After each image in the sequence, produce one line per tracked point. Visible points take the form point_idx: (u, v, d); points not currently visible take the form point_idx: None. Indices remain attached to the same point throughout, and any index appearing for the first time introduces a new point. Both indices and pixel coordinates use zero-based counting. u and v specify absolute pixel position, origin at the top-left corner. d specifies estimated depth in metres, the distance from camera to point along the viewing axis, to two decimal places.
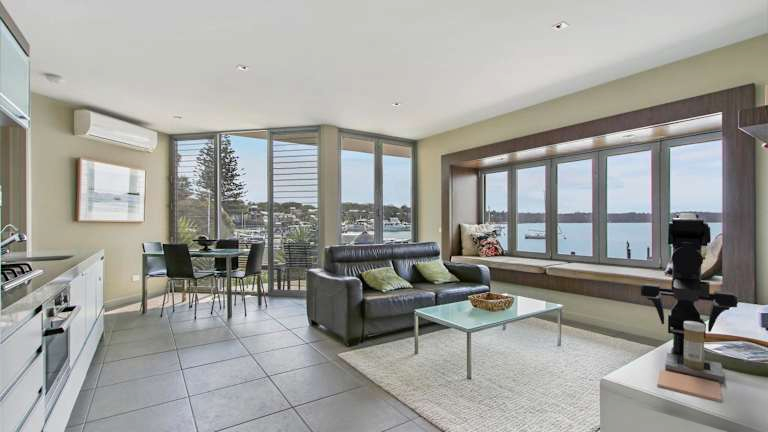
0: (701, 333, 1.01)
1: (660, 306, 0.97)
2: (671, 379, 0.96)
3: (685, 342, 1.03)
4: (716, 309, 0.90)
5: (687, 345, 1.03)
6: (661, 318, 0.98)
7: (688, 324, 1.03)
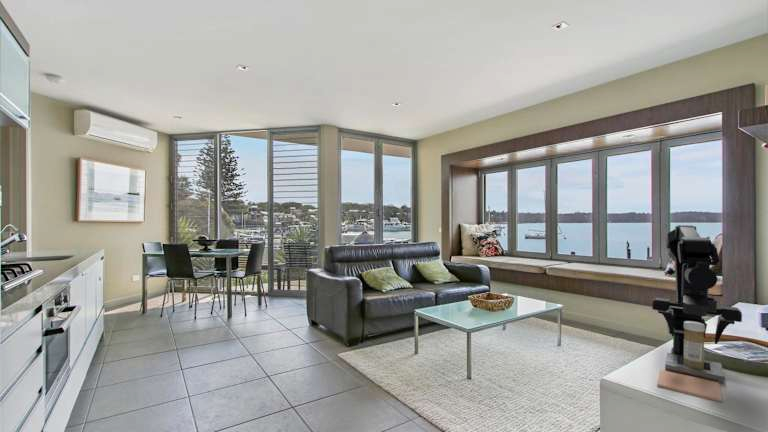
0: (701, 333, 1.01)
1: (670, 319, 1.05)
2: (671, 379, 0.96)
3: (685, 342, 1.03)
4: (722, 323, 0.98)
5: (687, 345, 1.03)
6: (671, 330, 1.06)
7: (688, 324, 1.03)
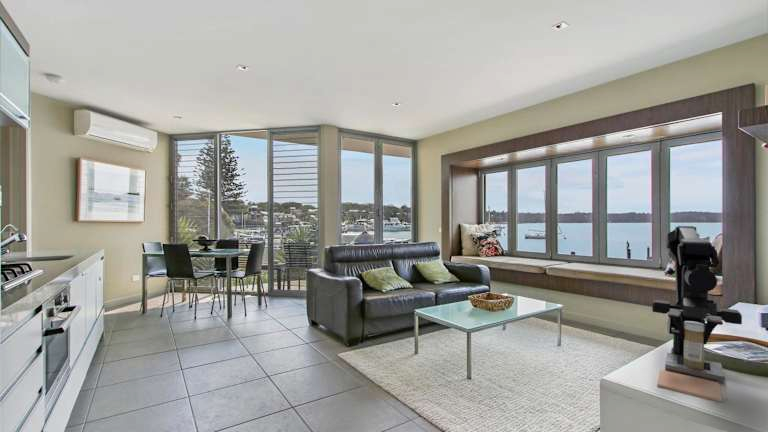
0: (701, 333, 1.01)
1: (681, 323, 1.04)
2: (671, 379, 0.96)
3: (685, 342, 1.03)
4: (711, 324, 0.99)
5: (687, 345, 1.03)
6: (681, 334, 1.04)
7: (688, 324, 1.03)
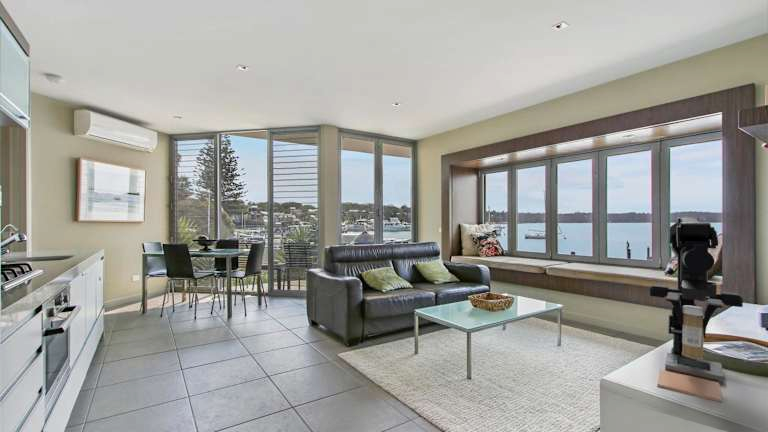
0: (700, 317, 0.97)
1: (679, 307, 1.00)
2: (671, 379, 0.96)
3: (684, 327, 1.00)
4: (710, 307, 0.96)
5: (685, 330, 0.99)
6: (680, 319, 1.01)
7: (687, 308, 0.99)
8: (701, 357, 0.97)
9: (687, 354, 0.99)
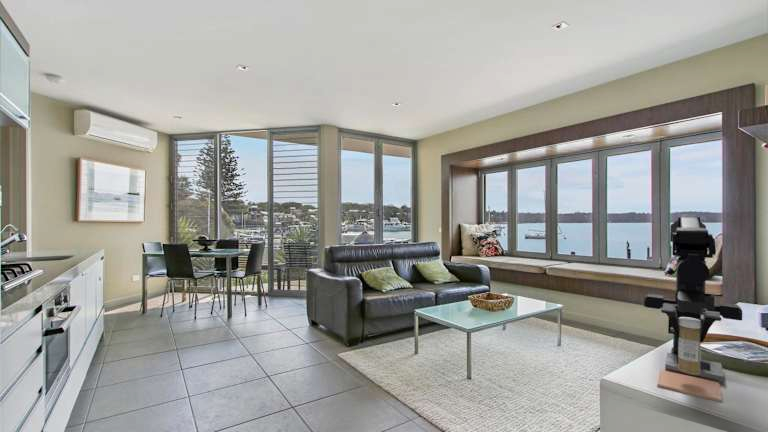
0: (697, 330, 0.92)
1: (675, 319, 0.95)
2: (671, 379, 0.96)
3: (680, 340, 0.94)
4: (708, 320, 0.90)
5: (682, 343, 0.94)
6: (676, 332, 0.95)
7: (683, 320, 0.93)
8: (698, 372, 0.92)
9: (683, 369, 0.93)
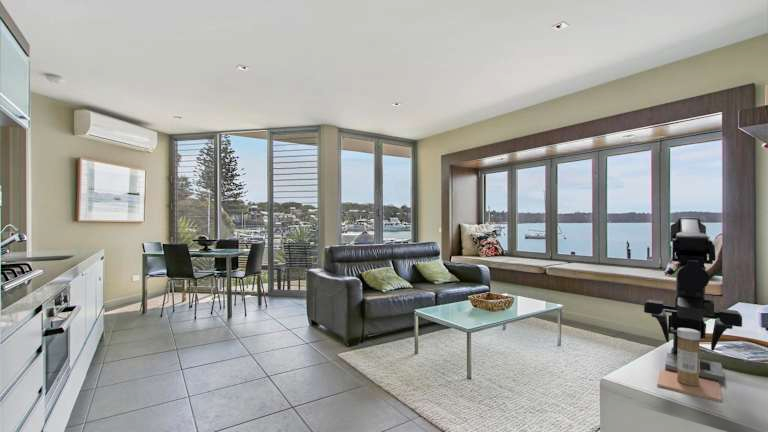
0: (696, 341, 0.92)
1: (665, 324, 0.96)
2: (671, 379, 0.96)
3: (679, 351, 0.94)
4: (719, 328, 0.89)
5: (681, 354, 0.94)
6: (666, 336, 0.96)
7: (682, 331, 0.93)
8: (697, 384, 0.92)
9: (682, 380, 0.93)
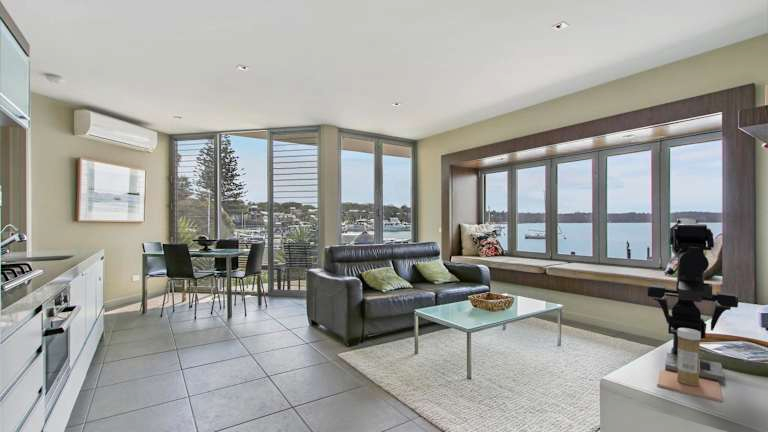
0: (696, 341, 0.92)
1: (665, 306, 1.04)
2: (671, 379, 0.96)
3: (679, 351, 0.94)
4: (718, 309, 0.96)
5: (681, 354, 0.94)
6: (666, 317, 1.04)
7: (682, 331, 0.93)
8: (697, 384, 0.92)
9: (682, 380, 0.93)
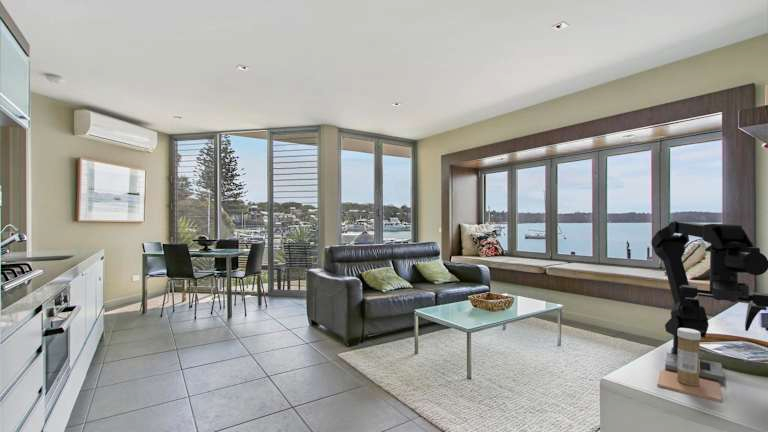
0: (696, 341, 0.92)
1: (698, 306, 1.03)
2: (671, 379, 0.96)
3: (679, 351, 0.94)
4: (754, 309, 0.95)
5: (681, 354, 0.94)
6: (699, 318, 1.03)
7: (682, 331, 0.93)
8: (697, 384, 0.92)
9: (682, 380, 0.93)
